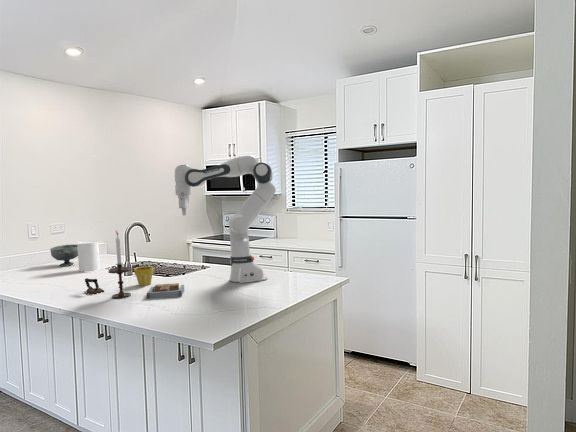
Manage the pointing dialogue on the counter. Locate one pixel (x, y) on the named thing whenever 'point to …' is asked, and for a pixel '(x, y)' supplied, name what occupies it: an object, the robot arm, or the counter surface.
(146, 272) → the plant pot
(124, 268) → the candlestick
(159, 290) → the t block
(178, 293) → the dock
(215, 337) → the counter surface
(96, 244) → the canister
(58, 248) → the bowl
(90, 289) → the clothes iron
